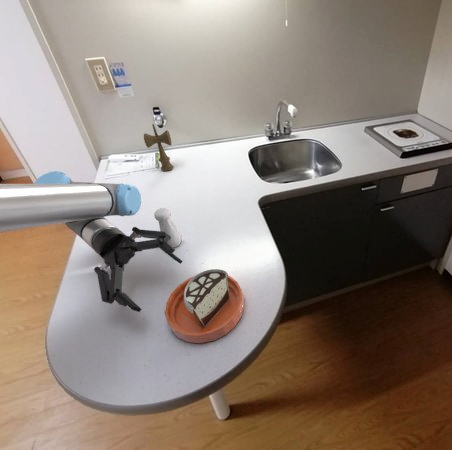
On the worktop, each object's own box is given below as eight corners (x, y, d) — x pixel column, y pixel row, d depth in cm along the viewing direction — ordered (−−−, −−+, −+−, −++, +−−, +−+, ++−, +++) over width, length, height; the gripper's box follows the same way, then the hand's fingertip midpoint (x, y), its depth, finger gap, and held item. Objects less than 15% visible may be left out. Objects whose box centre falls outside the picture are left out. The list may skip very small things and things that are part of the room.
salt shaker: (178, 234, 99) (167, 202, 91) (186, 244, 96) (175, 211, 88) (161, 243, 96) (147, 210, 88) (168, 252, 93) (154, 219, 85)
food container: (215, 286, 82) (207, 260, 76) (233, 295, 80) (227, 269, 74) (181, 321, 74) (169, 296, 68) (200, 333, 72) (190, 308, 65)
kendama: (179, 170, 131) (165, 125, 118) (155, 174, 129) (138, 128, 116) (179, 164, 136) (166, 119, 123) (156, 167, 133) (140, 122, 121)
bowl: (216, 356, 68) (212, 347, 65) (153, 327, 74) (148, 318, 71) (257, 294, 81) (255, 285, 78) (201, 274, 86) (197, 264, 84)
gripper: (150, 210, 85) (202, 247, 77) (80, 283, 78) (129, 333, 70) (132, 195, 78) (187, 235, 70) (55, 275, 71) (105, 329, 63)
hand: (158, 284), depth 70 cm, fingers open, 13 cm apart
